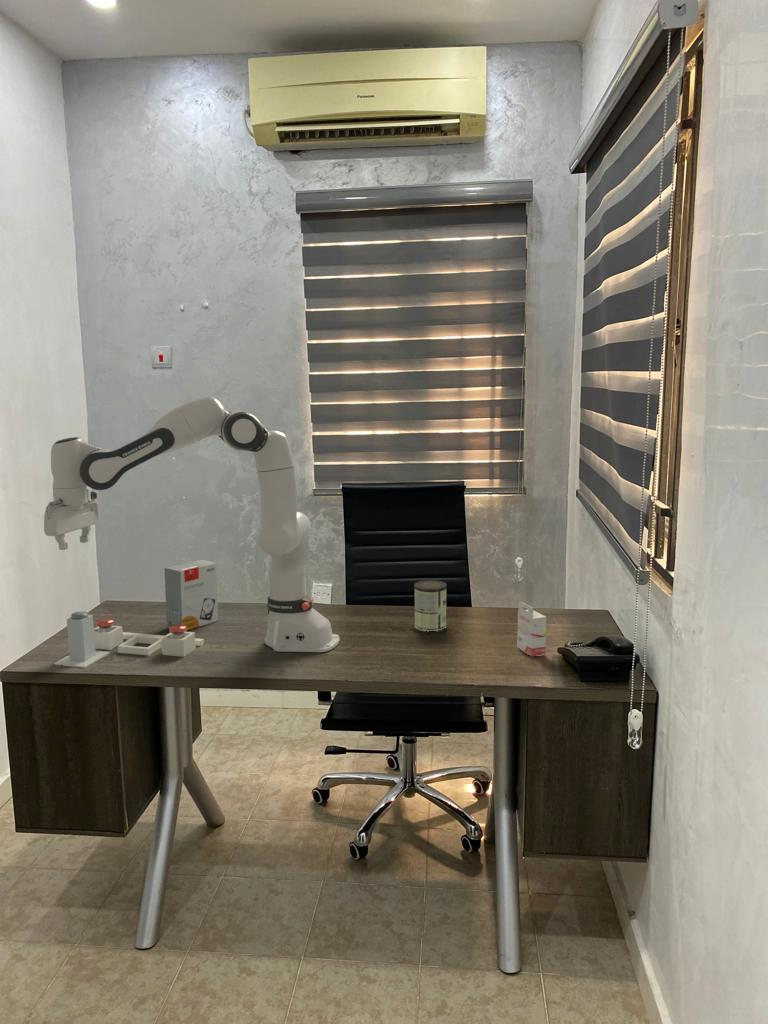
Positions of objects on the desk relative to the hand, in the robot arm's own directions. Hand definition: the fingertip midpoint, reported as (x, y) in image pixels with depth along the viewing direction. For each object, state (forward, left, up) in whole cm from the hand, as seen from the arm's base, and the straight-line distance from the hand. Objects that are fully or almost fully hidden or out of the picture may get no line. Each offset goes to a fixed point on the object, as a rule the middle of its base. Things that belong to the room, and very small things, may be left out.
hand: (74, 545), depth 224 cm
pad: (0, 0, -33) cm, 33 cm away
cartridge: (0, 0, -33) cm, 33 cm away
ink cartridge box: (-124, -36, -33) cm, 133 cm away
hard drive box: (-16, -36, -33) cm, 52 cm away
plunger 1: (0, -12, -32) cm, 35 cm away
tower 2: (-24, -12, -33) cm, 43 cm away
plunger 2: (-24, -12, -33) cm, 42 cm away
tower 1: (0, -12, -33) cm, 35 cm away
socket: (-12, -14, -33) cm, 38 cm away
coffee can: (-91, -52, -33) cm, 110 cm away
